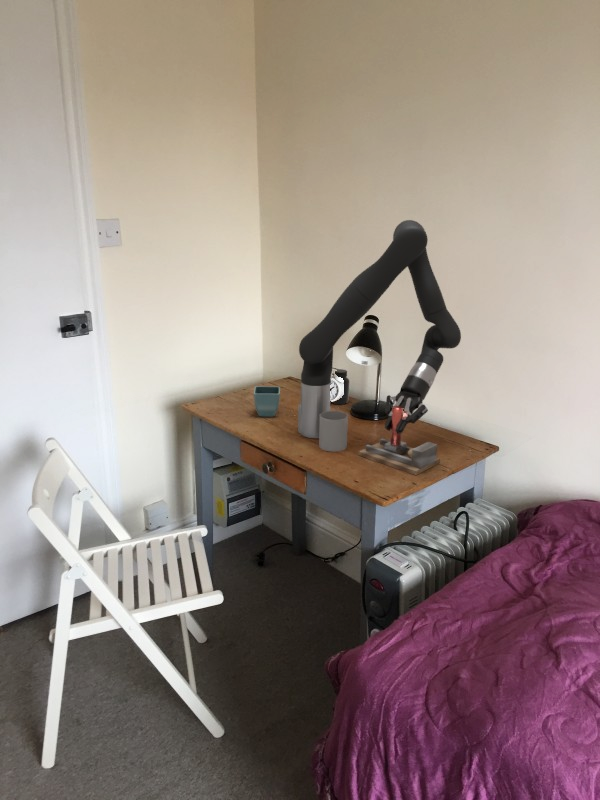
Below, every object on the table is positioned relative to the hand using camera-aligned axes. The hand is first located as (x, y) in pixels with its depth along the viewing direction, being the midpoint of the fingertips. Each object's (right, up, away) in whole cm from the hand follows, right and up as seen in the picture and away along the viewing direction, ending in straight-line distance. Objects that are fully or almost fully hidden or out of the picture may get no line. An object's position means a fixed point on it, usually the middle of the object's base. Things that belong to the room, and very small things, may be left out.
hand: (392, 430), depth 186 cm
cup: (-16, -6, +12) cm, 21 cm away
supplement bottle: (-12, +8, +53) cm, 55 cm away
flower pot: (-38, +4, +39) cm, 55 cm away
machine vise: (+2, -8, +3) cm, 9 cm away
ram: (+1, -7, +4) cm, 8 cm away
